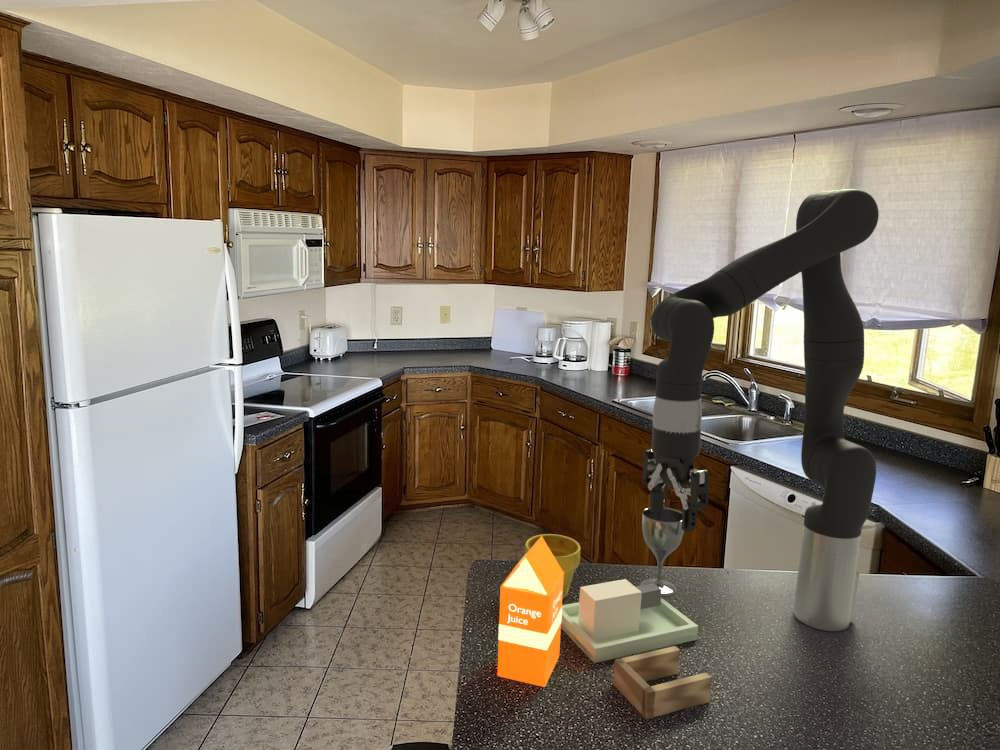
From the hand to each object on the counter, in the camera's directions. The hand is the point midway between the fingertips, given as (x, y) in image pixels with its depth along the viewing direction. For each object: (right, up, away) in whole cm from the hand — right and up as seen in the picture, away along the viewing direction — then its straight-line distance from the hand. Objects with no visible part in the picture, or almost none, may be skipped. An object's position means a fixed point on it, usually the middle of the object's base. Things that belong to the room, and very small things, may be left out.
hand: (671, 520), depth 115 cm
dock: (-4, -23, -11) cm, 26 cm away
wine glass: (+3, -18, +22) cm, 29 cm away
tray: (-7, -20, +6) cm, 22 cm away
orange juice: (-24, -22, -5) cm, 33 cm away
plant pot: (-18, -18, +18) cm, 32 cm away
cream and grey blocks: (-7, -19, +6) cm, 21 cm away
